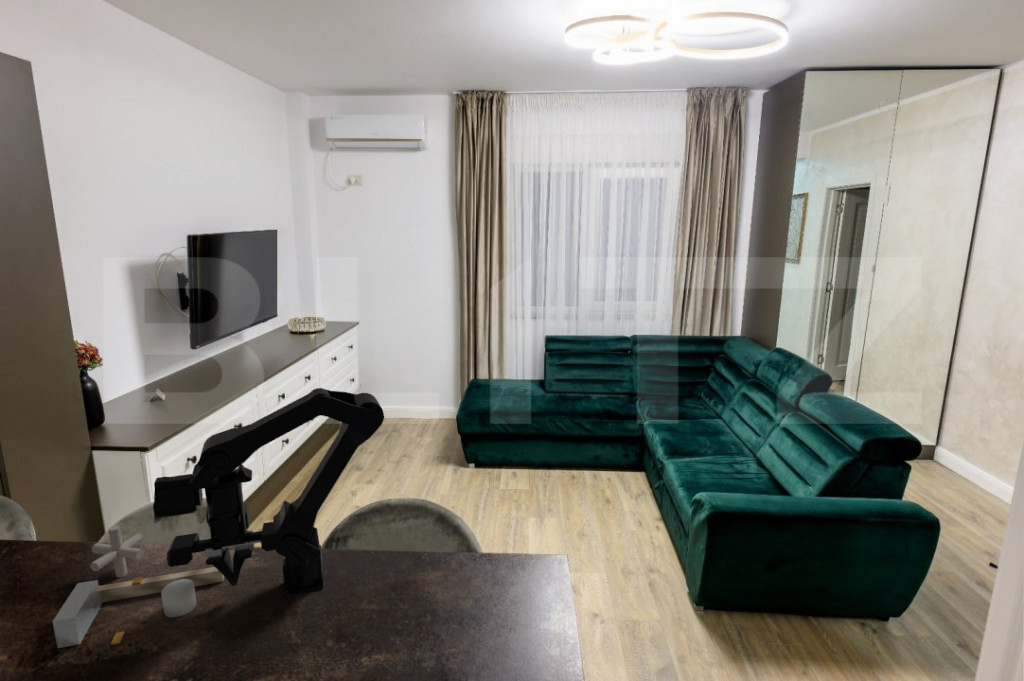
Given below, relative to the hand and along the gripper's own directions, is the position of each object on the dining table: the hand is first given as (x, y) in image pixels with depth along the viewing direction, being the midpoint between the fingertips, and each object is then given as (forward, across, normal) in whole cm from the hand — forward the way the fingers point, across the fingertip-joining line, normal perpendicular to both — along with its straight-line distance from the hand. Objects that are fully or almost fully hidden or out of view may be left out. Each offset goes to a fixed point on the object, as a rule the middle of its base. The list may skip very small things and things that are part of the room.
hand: (234, 584), depth 103 cm
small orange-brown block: (+3, +17, +6) cm, 18 cm away
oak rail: (+3, +14, -6) cm, 16 cm away
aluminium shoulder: (+3, +24, 0) cm, 24 cm away
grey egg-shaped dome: (+3, +9, 0) cm, 10 cm away
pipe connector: (+3, +22, -14) cm, 26 cm away
